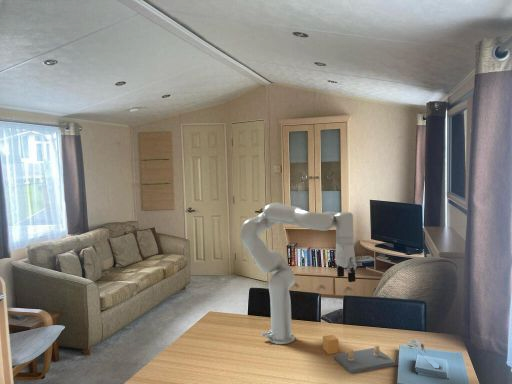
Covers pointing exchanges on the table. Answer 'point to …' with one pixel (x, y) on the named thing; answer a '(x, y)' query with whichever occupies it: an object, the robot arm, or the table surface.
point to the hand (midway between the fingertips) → (346, 279)
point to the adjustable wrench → (414, 344)
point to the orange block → (330, 344)
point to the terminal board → (364, 360)
